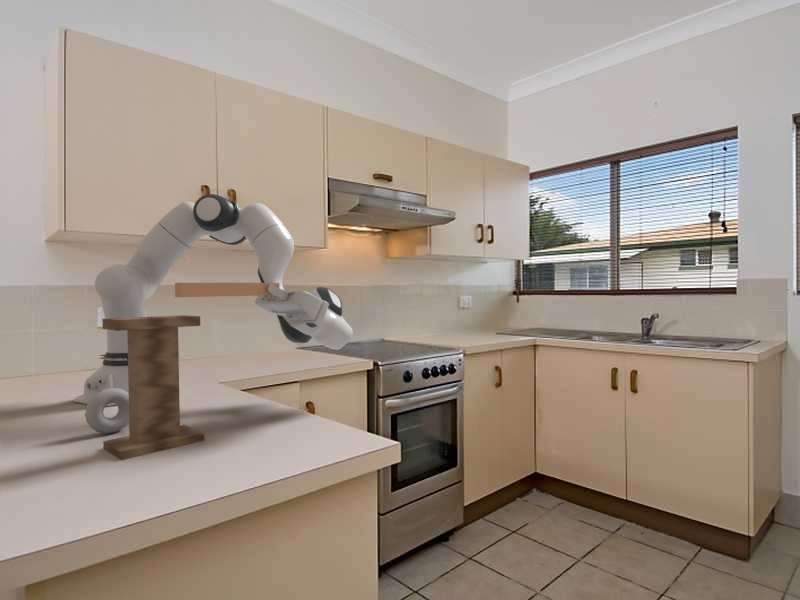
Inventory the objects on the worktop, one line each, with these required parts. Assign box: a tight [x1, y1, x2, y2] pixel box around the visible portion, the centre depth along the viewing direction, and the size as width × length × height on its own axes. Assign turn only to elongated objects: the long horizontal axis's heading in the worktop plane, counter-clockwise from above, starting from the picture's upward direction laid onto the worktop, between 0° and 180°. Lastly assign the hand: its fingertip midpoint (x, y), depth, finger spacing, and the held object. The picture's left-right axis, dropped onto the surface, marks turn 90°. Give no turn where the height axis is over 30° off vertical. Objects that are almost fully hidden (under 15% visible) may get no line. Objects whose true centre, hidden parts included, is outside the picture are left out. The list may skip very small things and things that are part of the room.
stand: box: [101, 314, 205, 461], centre depth 101 cm, size 16×10×26 cm, turn 137°
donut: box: [84, 388, 129, 435], centre depth 110 cm, size 10×4×10 cm, turn 141°
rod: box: [174, 282, 280, 298], centre depth 113 cm, size 24×3×3 cm, turn 137°
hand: (262, 287), depth 119 cm, fingers closed on rod, 3 cm apart
